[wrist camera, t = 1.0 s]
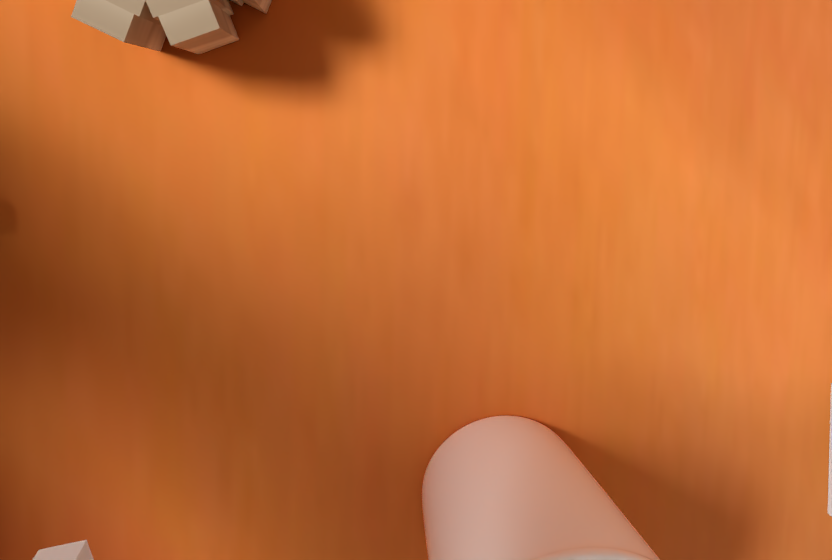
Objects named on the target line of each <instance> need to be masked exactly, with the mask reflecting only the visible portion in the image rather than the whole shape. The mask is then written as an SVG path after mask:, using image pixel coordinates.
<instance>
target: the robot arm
mask: <svg viewBox="0 0 832 560" xmlns="http://www.w3.org/2000/svg"><path fill="white" fill-rule="evenodd" d="M828 514H829V515H830V516H832V383H831V408H830V445H829V483H828ZM33 560H94V559H93V556H92V554H91V551H90V548H89V545H88V542H87V540H83V541H78V542H73V543H69V544H64V545H59V546H54V547H50V548H45V549H40V550H38V552H37V553H36V555H35V557H34V558H33Z"/></svg>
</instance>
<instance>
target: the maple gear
mask: <svg viewBox="0 0 832 560" xmlns="http://www.w3.org/2000/svg"><path fill="white" fill-rule="evenodd" d="M230 1H232V2H234V3H236V4H238V5H240V6H242V5H243V2H244V3H246V4H248V5H250V6H252V7H254V8H256V9H258V10H259V11H261V12H263V13H265V14H266V13H267V11H268V9H269V6H270V4H271V1H272V0H230ZM233 14H234V13H233V10H232V8H231V5H230V3H229V0H77V1H76V4H75V7H74V10H73V13H72V16H71V17H73V18H75V19H77V20H79V21H81V22H83V23H85V24H87V25H89V26H91V27H93V28H96V29H98V30H100V31H102V32H104V33H106V34H108V35H110V36H112V37H114V38H116V39H118V40H121V41H123V42H126V43H129V44H133V45H137V46H141V47H145V48H149V49H153V50H157V51H161V49H162V46H163V44H164V41H165V38H166V36H167V38H168V40H169V43H170V45H171V46H174V47H177V48H180V49H184V50H187V51H190V52H193V53H197V54H201V53H204V52H207V51H210V50H213V49H215V48H218V47H221V46H224V45H227V44H229V43H232V42H235V41H238V40H239V37H238V35H237V32H236V30H235V27H234V25H233V22H232V20H231V17H230V15H233Z"/></svg>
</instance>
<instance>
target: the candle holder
mask: <svg viewBox="0 0 832 560" xmlns="http://www.w3.org/2000/svg"><path fill="white" fill-rule="evenodd" d="M422 508H423V518H424V528H425V537H426V545H427V554H428V560H660V558H659V557H658V556H657V555H656V554H655V552H654V551H653V550H652V549H651V547H650V546H649V545H648V544H647V542H646V541H645V540H644V539H643V537H642V536H641V535H640V534H639V533H638V531H637V530H636V529H635V528H634V526H633V525H632V524H631V523H630V521H629V520H628V519H627V518H626V516H625V515H624V514H623V513H622V512H621V510H620V509H619V508H618V507H617V505H616V504H615V503H614V502H613V500H612V499H611V498H610V497H609V495H608V494H607V493H606V492H605V491H604V489H603V488H602V487H601V486H600V484H599V483H598V482H597V481H596V479H595V478H594V477H593V476H592V474H591V473H590V472H589V471H588V470H587V468H586V467H585V466H584V465H583V463H582V462H581V461H580V460H579V459H578V457H577V456H576V455H575V454H574V453H573V451H572V450H571V449H570V448H569V447H568V446H567V444H566V443H565V442H564V441H563V440H562V439H561V438H560V437H559V436H558V435H557V434H556V433H555V432H553V431H552V430H551V429H549V428H548V427H546V426H545V425H543V424H541V423H539V422H537V421H534V420H531V419H528V418H524V417H519V416H507V415H505V416H493V417H488V418H484V419H480V420H477V421H475V422H472V423H470V424H468V425H466V426H464V427H462V428H461V429H459V430H457V431H456V432H455V433H453V434H452V435H451V436H450V437H448V438H447V439H446V440H445V441H444V442H443V443H442V444H441V445H440V447H439V448H438V449H437V450H436V452H435V453H434V455H433V456H432V458H431V460H430V462H429V464H428V466H427V469H426V472H425V475H424V479H423V485H422Z"/></svg>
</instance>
